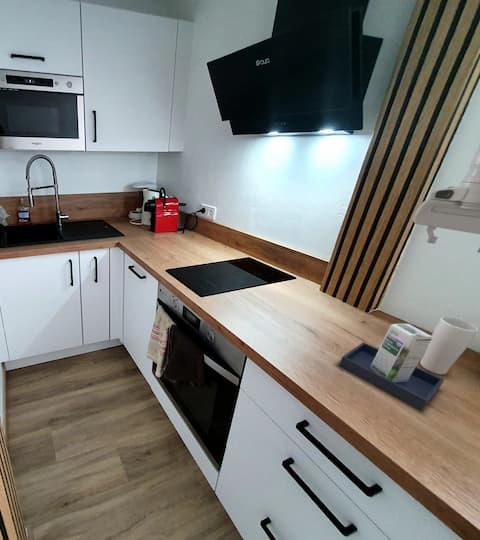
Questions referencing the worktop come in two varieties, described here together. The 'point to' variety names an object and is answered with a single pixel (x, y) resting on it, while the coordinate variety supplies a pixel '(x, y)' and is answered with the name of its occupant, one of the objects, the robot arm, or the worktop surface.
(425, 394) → the tray
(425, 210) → the robot arm
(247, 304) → the worktop surface
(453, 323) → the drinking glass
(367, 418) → the worktop surface
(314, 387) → the worktop surface
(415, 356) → the syrup box
